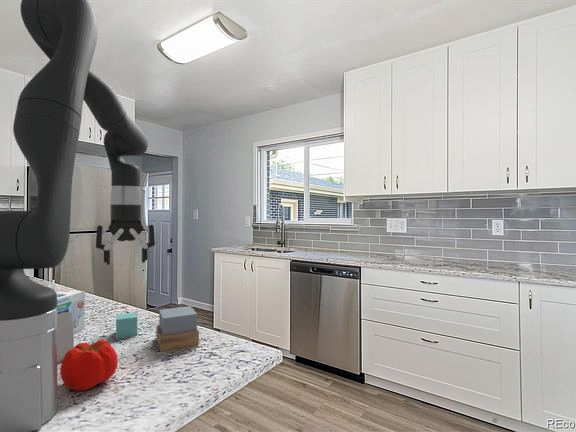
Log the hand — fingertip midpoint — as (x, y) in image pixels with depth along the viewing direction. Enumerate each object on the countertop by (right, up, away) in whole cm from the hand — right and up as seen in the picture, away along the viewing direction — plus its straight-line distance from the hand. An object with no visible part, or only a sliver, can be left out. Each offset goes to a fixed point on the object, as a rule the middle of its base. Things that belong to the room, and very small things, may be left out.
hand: (126, 263), depth 91 cm
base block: (+16, -20, -5) cm, 26 cm away
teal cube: (0, -19, 0) cm, 19 cm away
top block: (+16, -16, -5) cm, 23 cm away
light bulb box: (-18, -19, 0) cm, 26 cm away
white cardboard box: (-9, -20, -16) cm, 26 cm away
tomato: (+6, -20, -26) cm, 33 cm away
